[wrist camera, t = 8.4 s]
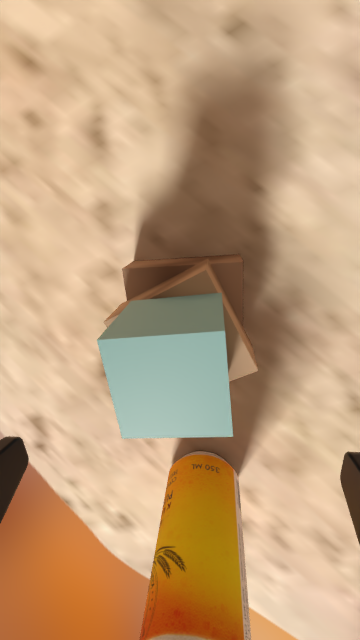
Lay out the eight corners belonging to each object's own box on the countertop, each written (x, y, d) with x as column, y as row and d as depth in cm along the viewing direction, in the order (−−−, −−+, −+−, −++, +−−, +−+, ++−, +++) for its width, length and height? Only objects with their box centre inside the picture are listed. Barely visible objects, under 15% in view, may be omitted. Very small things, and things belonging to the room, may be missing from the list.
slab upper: (207, 258, 16) (205, 269, 13) (251, 344, 18) (258, 370, 15) (121, 303, 18) (103, 322, 15) (168, 378, 19) (160, 407, 17)
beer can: (162, 450, 25) (96, 746, 11) (230, 442, 24) (248, 764, 10) (179, 498, 27) (142, 798, 13) (243, 493, 26) (273, 819, 12)
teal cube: (221, 292, 14) (224, 330, 9) (228, 373, 15) (233, 436, 11) (131, 300, 14) (96, 340, 10) (146, 377, 16) (122, 438, 12)
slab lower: (239, 253, 19) (243, 261, 16) (239, 348, 21) (243, 370, 18) (135, 259, 20) (122, 268, 17) (147, 350, 22) (138, 370, 19)
